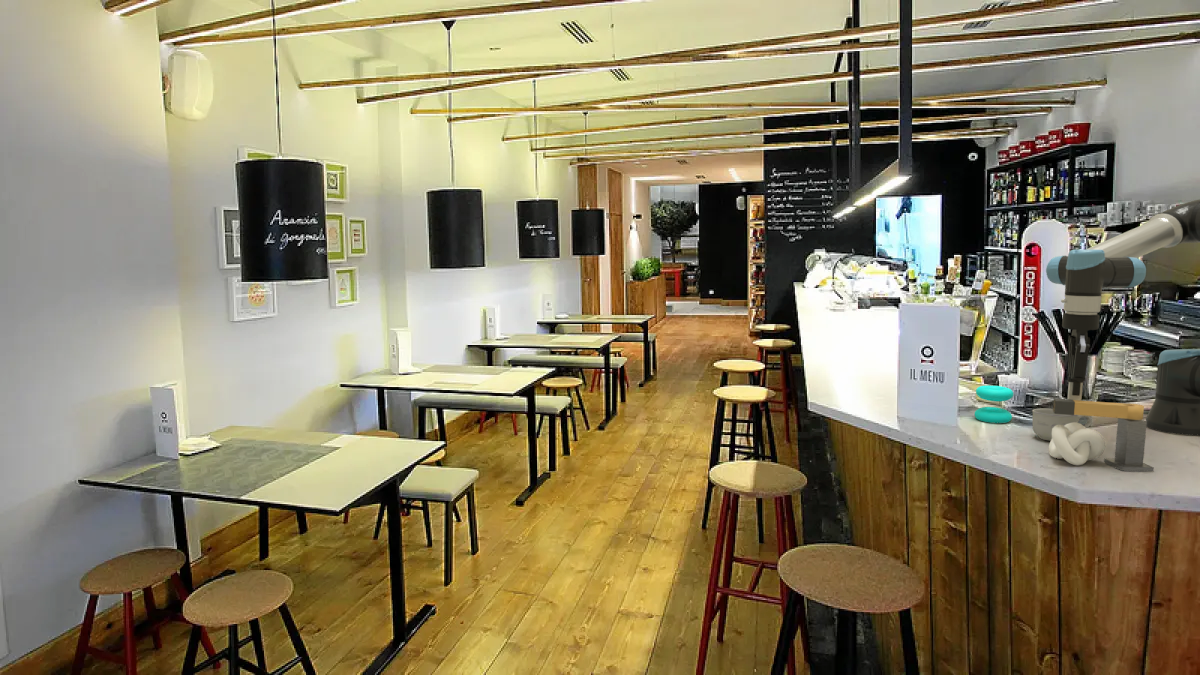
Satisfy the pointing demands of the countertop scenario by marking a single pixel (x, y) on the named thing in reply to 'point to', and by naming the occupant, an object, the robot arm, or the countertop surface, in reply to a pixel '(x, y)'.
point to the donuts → (993, 412)
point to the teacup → (1052, 422)
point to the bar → (1098, 409)
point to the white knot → (1075, 443)
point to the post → (1130, 446)
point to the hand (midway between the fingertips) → (1073, 407)
